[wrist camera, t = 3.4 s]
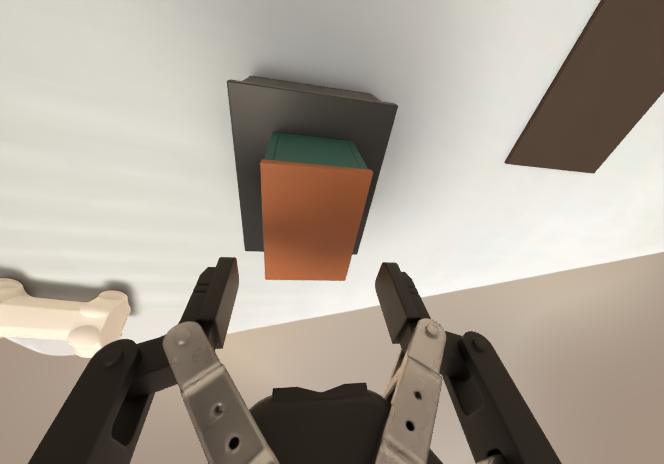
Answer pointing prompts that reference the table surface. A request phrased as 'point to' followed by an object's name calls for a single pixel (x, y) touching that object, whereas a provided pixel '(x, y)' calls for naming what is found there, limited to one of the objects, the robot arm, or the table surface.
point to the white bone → (63, 318)
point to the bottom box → (300, 119)
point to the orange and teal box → (311, 206)
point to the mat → (598, 89)
